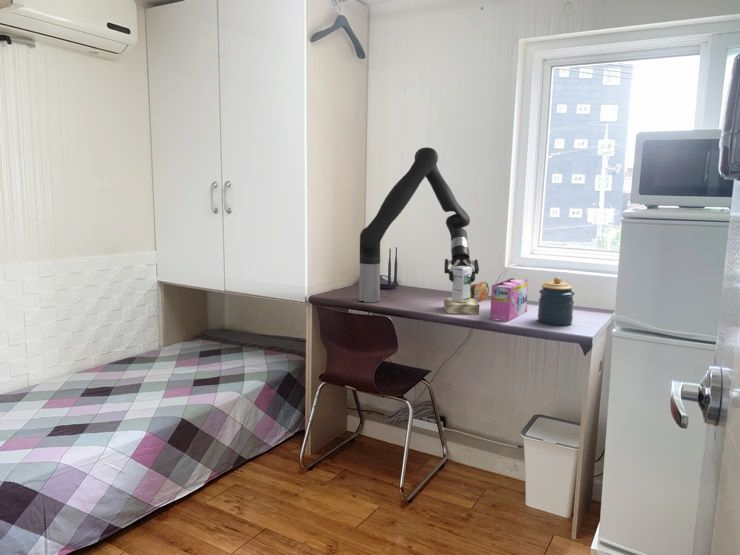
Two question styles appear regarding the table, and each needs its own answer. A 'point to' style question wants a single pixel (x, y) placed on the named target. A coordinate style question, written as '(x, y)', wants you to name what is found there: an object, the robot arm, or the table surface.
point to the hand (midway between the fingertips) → (462, 280)
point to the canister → (556, 303)
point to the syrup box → (461, 284)
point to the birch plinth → (461, 306)
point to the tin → (479, 291)
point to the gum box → (509, 299)
